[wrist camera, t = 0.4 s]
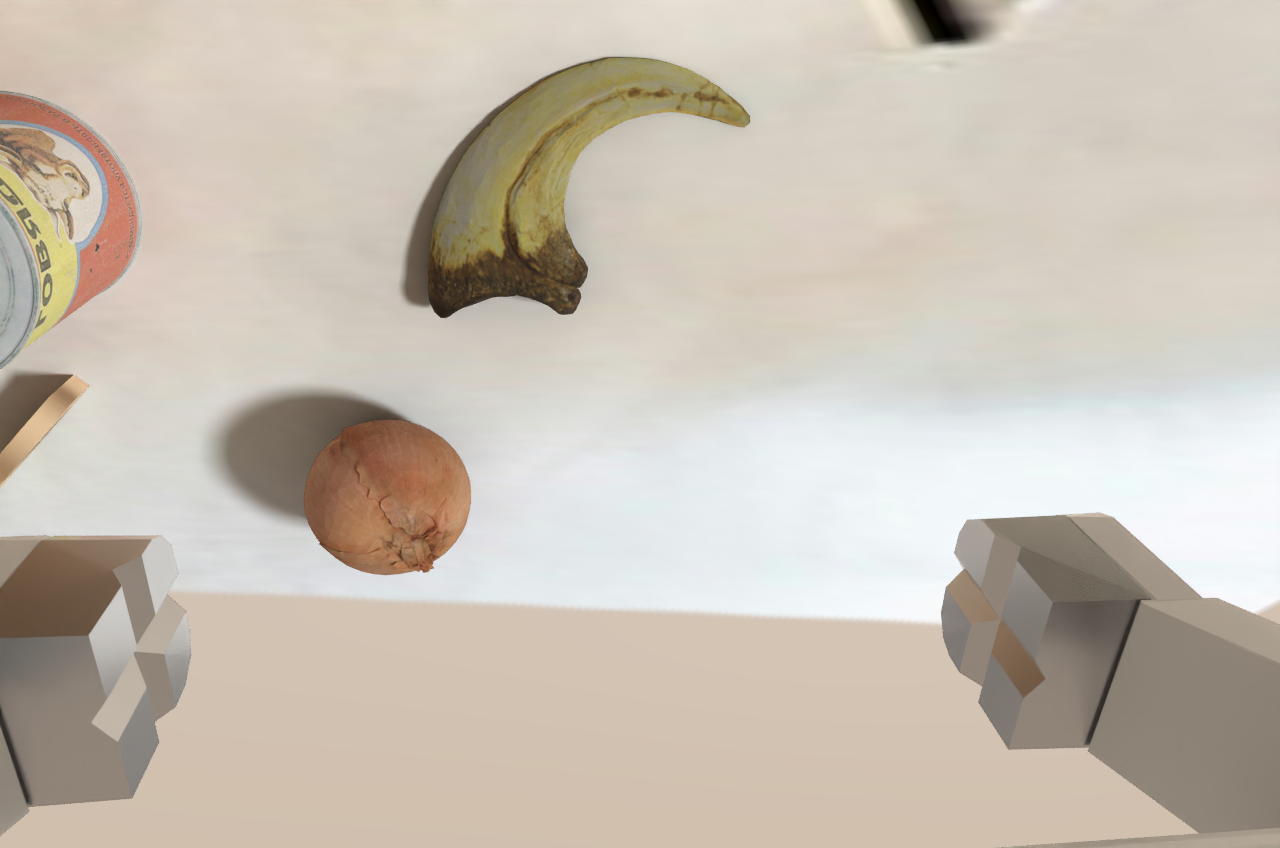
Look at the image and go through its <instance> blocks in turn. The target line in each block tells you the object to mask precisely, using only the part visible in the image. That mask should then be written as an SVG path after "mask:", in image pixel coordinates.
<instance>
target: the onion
mask: <svg viewBox="0 0 1280 848" xmlns="http://www.w3.org/2000/svg"><path fill="white" fill-rule="evenodd" d="M342 430H343V432H342V434H340V435H339V436H338V437H336V438H335V439H334V440H333V441H331V442H330V443H329V444H328V445H327V446H326V447H325V449H324V450H322V451H321V452H320V453H319V454H318V456H317V458H316V460H315V462H314V464H313V466H312V468H311V470H310V472H309V475H308V478H307V481H306V486H305V492H304V507H305V514H306V517H307V520H308V523H309V526H310V528H311V530H312V531H313V533H314V535H315V536H316V538H317V539H318V541H319V542H320V543H319V544H320V545H321V546H322V547H324V548H325V549H326V550H327V551H328V552H329V553H330V554H332V555H333V556H334V557H335V558H337V559H338V560H340V561H341V562H343V563H344V564H346V565H347V566H349V567H352V568H354V569H357V570H360V571H362V572H367V573H371V574H380V575H392V574H402V573H407V572H412V571H418V572H419V571H420V570H422V571H423V572H424V573H425V572H429V569H433V568H434V567H433V566H432V564H433V561H435V560H436V559H438V558H439V557H441V556H442V555H443V554H445V553H446V552H447V551H448V550H449V549H450V548H451V547H452V546H453V544H454V543H455V542H456V541H457V539H458V538H459V536H460V535H461V533H462V531H463V529H464V527H465V525H466V522H467V518H468V514H469V510H470V504H471V487H470V481H469V477H468V474H467V471H466V469H465V466H464V464H463V462H462V460H461V458H460V457H459V455H458V454H457V453H456V451H455V450H454V449H453V448H452V446H451V445H450V444H449V443H448V442H446V441H445V440H444V439H443V438H442V437H440V436H439V435H438V434H436V433H434V432H433V431H431V430H429V429H427V428H425V427H423V426H421V425H417V424H414V423H411V422H407V421H403V420H378V421H375V420H373V421H370V422H365V423H361V424H357V425H354V426H350V427H346V428H344V429H342Z"/></svg>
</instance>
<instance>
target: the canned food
mask: <svg viewBox="0 0 1280 848" xmlns="http://www.w3.org/2000/svg"><path fill="white" fill-rule="evenodd" d="M140 233H141V214H140V206H139V202H138V198H137V194H136V191H135V188H134V185H133V183H132V181H131V179H130V176H129V174H128V172H127V171H126V169H125V167H124V165H123V164H122V162H121V161H120V159H119V158H118V156H117V155H116V154H115V152H114V151H113V150H112V149H111V147H110V146H109V145H108V144H107V143H106V142H105V141H104V140H103V138H102V137H101V136H100V135H98V134H97V133H96V132H95V131H94V130H93V129H92V128H91V127H89V126H88V125H87V124H86V123H84V122H83V121H82V120H80V119H79V118H77V117H76V116H74V115H73V114H71V113H69V112H68V111H66V110H64V109H62V108H60V107H58V106H56V105H54V104H52V103H49V102H47V101H44V100H41V99H39V98H36V97H32V96H28V95H24V94H19V93H13V92H3V91H0V369H1V368H3V367H4V366H5V365H7V364H8V363H9V362H11V361H12V360H13V359H14V358H15V357H16V356H17V355H18V354H19V352H20V351H22V350H23V349H24V348H26V347H27V346H28V345H30V344H31V343H32V342H34V341H35V340H36V339H38V338H39V337H40V336H42V335H43V334H44V333H46V332H47V331H48V330H50V329H51V328H52V327H54V326H55V325H56V324H58V323H59V322H60V321H62V320H63V319H64V318H66V317H67V316H68V315H70V314H71V313H73V312H74V311H75V310H77V309H78V308H79V307H81V306H82V305H83V304H85V303H86V302H87V301H89V300H90V299H91V298H93V297H94V296H96V295H98V294H100V293H102V292H103V291H105V290H107V289H108V288H109V287H110V286H112V285H113V284H114V283H115V282H117V281H118V280H119V279H120V278H121V277H122V275H123V274H124V273H125V272H126V270H127V269H128V267H129V266H130V264H131V263H132V260H133V258H134V256H135V254H136V251H137V248H138V245H139V240H140Z"/></svg>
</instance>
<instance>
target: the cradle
mask: <svg viewBox="0 0 1280 848" xmlns="http://www.w3.org/2000/svg"><path fill="white" fill-rule="evenodd" d="M88 387H89V385H87V384H86V383H84V382H83V381H81V380H80V379H79V378H77V377H76V376H74V375H73V376H72V377H71V378H69V379H68V380H67V381H66V382H65V383H64V384H63V385H62V386H60V387H59V388H58V389H57V390H56V391H55V392H54V393H53V394H51V395H50V396H49V397H48V399H47V400H46V401H45V402H44V403H43V404H42V406H41V407H40V408H39V409H38V410H37V411H36V413H35V414H34V415H33V416H32V417H31V418H30V419H29V421H28V422H27V423H26V424H25V425H24V426H23V428H22V429H21V430H20V431H19V432H18V433H17V435H16V436H15V437H14V438H13V439H12V440H11V442H10V443H9V444H8V445H7V446H6V447H5V448H4V450H3V451H2V452H1V453H0V487H1V486H2V485H3V484H4V483H5V482H6V481H7V479H8V478H9V477H10V476H11V475H12V474H13V473H14V471H15V470H16V469H17V468H18V467H19V466H20V465H21V463H22V462H23V461H24V460H25V459H26V458H27V457H28V455H29V454H30V453H31V452H32V451H33V450H34V449H35V447H36V446H37V445H38V444H39V443H40V442H41V441H42V439H43V438H44V437H45V436H46V435H47V434H48V433H49V431H50V430H51V429H52V428H53V427H54V426H55V425H56V423H57V422H58V421H59V420H60V419H61V418H62V417H63V415H64V414H65V413H66V412H67V411H68V410H69V409H70V407H71V406H72V405H73V404H74V403H75V402H76V401H77V399H78V398H79V397H80V396H81V395H82V394H83V393H84V391H85V390H86V389H87V388H88Z"/></svg>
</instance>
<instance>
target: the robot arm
mask: <svg viewBox="0 0 1280 848" xmlns="http://www.w3.org/2000/svg"><path fill="white" fill-rule="evenodd" d="M954 553H955V555H956V557H957V559H958V560H959V562H960V564H961V566H962V567H963V569H964V570H963V571H962V572H961V573H960V574H959V575H958V576H957V577H956V578H955V579H954V580H953V581H952V582H951V583H950V584H949V585H948V586H947V587H946V590H945V595H944V600H943V606H942V611H941V617H942V629H943V638H944V641H945V644H946V647H947V650H948V653H949V656H950V658H951V659H952V661H953V663H954V664H955V666H956V667H957V669H958V671H959V672H960V673H962V674H963V675H965V676H966V677H968V678H969V679H971V680H973V681H975V682H976V683H978V684H979V685H981V686H982V690H981V694H980V698H979V701H978V702H979V704H980V706H981V707H982V709H983V710H984V712H985V713H986V715H987V717H988V718H989V720H990V721H991V723H992V724H993V726H994V727H995V729H996V730H997V732H998V734H999V735H1000V737H1001V739H1002V740H1003V742H1004V743H1005V745H1006V746H1007V748H1008V749H1009V750H1011V749H1046V748H1047V749H1048V748H1082V747H1083V748H1085V747H1089V749H1088V752H1090V753H1091V754H1092V755H1094V756H1095V757H1096V758H1098V759H1099V760H1100V761H1102V762H1103V763H1105V764H1106V765H1107V766H1109V767H1110V768H1111V769H1113V770H1114V771H1115V772H1117V773H1118V774H1120V775H1121V776H1122V777H1123V778H1125V779H1126V780H1128V781H1129V782H1130V783H1132V784H1133V785H1134V786H1136V787H1137V788H1138V789H1140V790H1141V791H1143V792H1144V793H1145V794H1147V795H1148V796H1149V797H1151V798H1152V799H1153V800H1155V801H1156V802H1157V803H1159V804H1160V805H1162V806H1163V807H1164V808H1166V809H1167V810H1168V811H1170V812H1171V813H1173V814H1174V815H1175V816H1177V817H1178V818H1179V819H1181V820H1182V821H1183V822H1185V823H1186V824H1187V825H1189V826H1190V827H1192V828H1193V829H1194V830H1196V831H1197V832H1198V833H1200V834H1187V835H1173V836H1160V837H1144V838H1129V839H1115V840H1100V841H1086V842H1072V843H1057V844H1042V845H1030V846H1029V845H1027V846H1013V847H998V848H1280V624H1277V623H1275V622H1272V621H1270V620H1268V619H1265V618H1263V617H1261V616H1258V615H1256V614H1253V613H1251V612H1249V611H1246V610H1244V609H1242V608H1239V607H1237V606H1235V605H1232V604H1230V603H1227V602H1225V601H1223V600H1220V599H1218V598H1202V597H1201V596H1200V595H1199V594H1198V593H1196V592H1195V591H1194V590H1193V589H1192V588H1191V587H1190V586H1189V585H1188V584H1187V583H1185V582H1184V581H1183V580H1182V579H1181V578H1180V577H1179V576H1178V575H1177V574H1175V573H1174V572H1173V571H1172V570H1171V569H1170V568H1169V567H1168V566H1167V565H1165V564H1164V563H1163V562H1162V561H1161V560H1160V559H1159V558H1158V557H1157V556H1156V555H1154V554H1153V553H1152V552H1151V551H1150V550H1149V549H1148V548H1147V547H1146V546H1144V545H1143V544H1142V543H1141V542H1140V541H1139V540H1138V539H1137V538H1136V537H1134V536H1133V535H1132V534H1131V533H1130V532H1129V531H1128V530H1127V529H1126V528H1125V527H1123V526H1122V525H1121V524H1120V523H1119V522H1118V521H1117V520H1116V519H1115V518H1113V517H1111V516H1108V515H1105V514H1102V513H1086V514H1069V515H1056V516H1038V517H1017V518H996V519H975V520H967V521H966V523H965V524H964V526H963V528H962V529H961V531H960V533H959V536H958V540H957V544H956V548H955V552H954ZM178 574H179V573H178V569H177V565H176V561H175V557H174V553H173V549H172V545H171V544H170V543H169V542H168V541H167V540H166V539H165V538H164V537H163V536H53V537H49V536H46V535H43V536H15V537H0V836H1V835H2V834H3V833H5V832H6V831H7V830H8V829H9V828H11V827H12V826H13V825H14V824H15V823H16V822H18V821H19V820H20V819H21V818H22V817H24V816H25V815H26V814H27V813H28V812H29V809H28V807H34V806H46V805H58V804H71V803H83V802H95V801H107V800H119V799H131V798H133V796H134V794H135V792H136V790H137V788H138V785H139V783H140V781H141V779H142V777H143V775H144V773H145V771H146V769H147V767H148V764H149V762H150V760H151V758H152V756H153V754H154V752H155V750H156V748H157V746H158V744H159V739H158V735H157V730H156V726H155V721H157V720H158V719H159V718H161V717H162V716H164V715H165V714H166V713H168V712H169V711H171V710H172V709H174V708H175V707H176V705H177V703H178V701H179V698H180V696H181V694H182V692H183V689H184V687H185V685H186V680H187V674H188V669H189V663H190V658H191V642H190V641H191V640H190V628H189V622H188V617H187V612H186V610H185V609H183V608H182V607H181V606H180V605H179V604H178V603H177V602H176V601H174V600H173V599H172V598H171V597H170V596H169V595H168V594H167V593H168V592H169V590H170V588H171V586H172V584H173V583H174V581H175V579H176V577H177V575H178Z"/></svg>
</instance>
